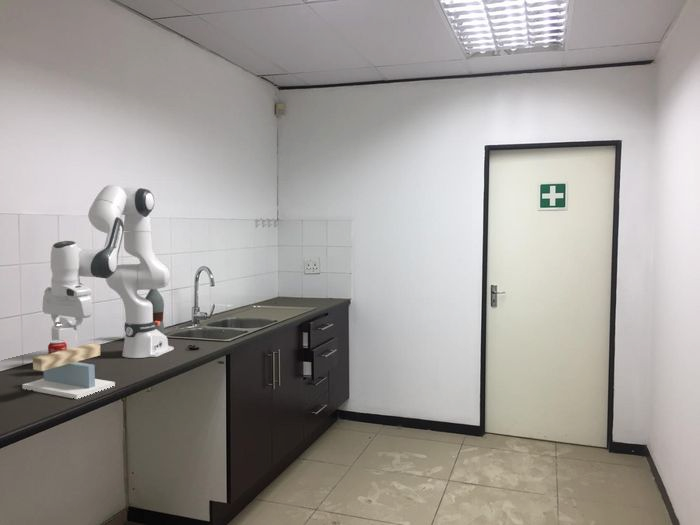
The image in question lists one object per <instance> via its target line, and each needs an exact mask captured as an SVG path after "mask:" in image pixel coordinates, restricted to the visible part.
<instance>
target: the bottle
mask: <svg viewBox="0 0 700 525" xmlns="http://www.w3.org/2000/svg"><path fill="white" fill-rule="evenodd" d="M144 298H145V299H147V300H149V301H150V302H151V303H152V305H153V321H154V322H155V321H160V325H159V326H157V325H155V326H156V329H157V330H158V331H160V332H161V333H162V334H164V335H165V332H166V331H165V325H164V324H165V323H164V309H165V302H164V298H163V296H162V295H161V293H160V292H159V289H151V290H148V292H147V294H146V296H145V297H144Z"/></svg>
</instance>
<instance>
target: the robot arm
mask: <svg viewBox="0 0 700 525" xmlns="http://www.w3.org/2000/svg"><path fill="white" fill-rule="evenodd" d="M154 206H155V197H154V194H153V193H152V192H151V190H150V189H146V188H142V187H141V188H140V187H139V188H135V187H124V188H123V187H121V186H119V185H114V184H109V185H106V186H104V187H103V188H102V189H101V191H100V192H99V193H98V194H97V195H96V197H95V199H94V200H93V202H92V204H91V206H90V208H89V210H88V220H89V222H90V223H91V225H92V226H93V227H94V229H96V230H97V231H100V232H102V233H104V234H106V240H105V243H104V246H103V247H102V248H100V249H86V248H85V249H84V248H83V249H82V248H81V247H79V246H78V244H77V242H75V241H73V240H63V241H58V242H55V243H53V245H52V247H51V250H50V251H51V252H50V270H51V274H52V276H51V279H50V281H51V282H50V286H48V287H46V288H45V290H44V294H43V298H42V312H43V313H44V314H48V315H50V318H51V319H52V322H53V326H54V327H61V322H59V320H60V317H67V318H68V317H70V318H74V320H75V324H72V325H73V327H74V330H77V331H80V330H81V329H82V323H83V321H84V319H86V318H90V317H91V316H92V314H93V300H92V298H91V296H90V295H91V294H92V288H90V287H89V286H87V285H84V284H83V283H81V278H80V277H84V278H86V277H87V278H100V279H105V282H106V284H107V286H108V287H109V288H110V289H111V290H113V291H115V293H117V294H118V296H119V297H120V299H121V300H122V302H123V307H124V313H125V314H124V316H125V322H124V327H123V328H124V332H125V333H124V341H123V349H122V355H121V356H122V357H124V358H130V359H140V358H141V359H142V358H155V357H160V356H162V355H164V354H166V353H169V352H171V351H174V349H175V348H174V346H171V345H169V340H168V337H167V335H165V333H164V334H162V333H161V332H160V331H158V330H157V329H156V326H155V325H157V326H159V325H160V321H155V322H154V321H153V305H152V303H151V302H150V301H149V300H147V299H145V297H143V296H140V295H139V293H138V292H137V291H141V290H144V291H145V290H146V291H147V290H148V291H150V290H151V289H157V290H159V289H164V288H166V287H167V286H168V285H169V283H170V280H171V273H170V270H169V269H168V267H167V266H166V265H165V264H164V263H162V262H161V261H160V260H159V259H158V258H157V256H156V254H155V252H154V248H153V242H152V241H153V238H152V222H151V215H150V214H151V212H152V211H153V210H154ZM122 216H124V218H123V220H122V219H121V217H122ZM122 240H123V248H124V251H125V252H126V253H127V254H129V255H131V256H133V257H135V258H137V259H138V260H139V263H136V264H135V263H132V264H131V263H129V264H127V263H126V264H124V263H122V264H118V261H119V253H120V249H121V246H122V245H121V244H122Z"/></svg>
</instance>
